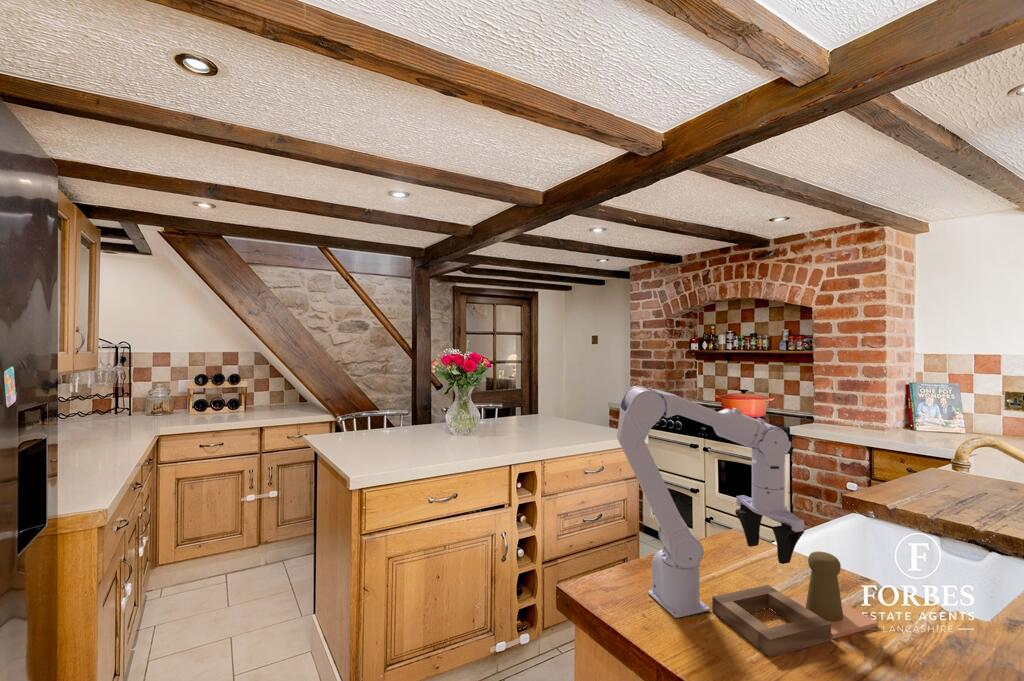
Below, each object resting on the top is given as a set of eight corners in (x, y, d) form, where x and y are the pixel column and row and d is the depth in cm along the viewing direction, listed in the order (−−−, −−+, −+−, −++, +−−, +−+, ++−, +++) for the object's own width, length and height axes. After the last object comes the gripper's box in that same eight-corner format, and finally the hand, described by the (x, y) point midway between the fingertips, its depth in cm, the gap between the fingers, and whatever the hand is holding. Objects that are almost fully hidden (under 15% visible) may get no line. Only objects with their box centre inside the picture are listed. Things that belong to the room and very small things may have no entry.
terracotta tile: (780, 605, 94) (780, 601, 94) (822, 595, 97) (822, 591, 97) (832, 638, 84) (832, 634, 84) (877, 626, 87) (877, 622, 87)
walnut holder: (712, 611, 92) (712, 596, 92) (768, 599, 96) (768, 584, 96) (769, 657, 79) (769, 639, 79) (831, 640, 83) (831, 623, 83)
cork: (833, 604, 93) (833, 548, 93) (850, 623, 87) (850, 563, 87) (800, 601, 94) (800, 546, 94) (814, 620, 88) (813, 561, 88)
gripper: (816, 494, 88) (817, 567, 88) (755, 472, 102) (755, 536, 102) (787, 499, 86) (787, 573, 86) (728, 476, 100) (728, 540, 100)
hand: (768, 553), depth 94 cm, fingers open, 7 cm apart
